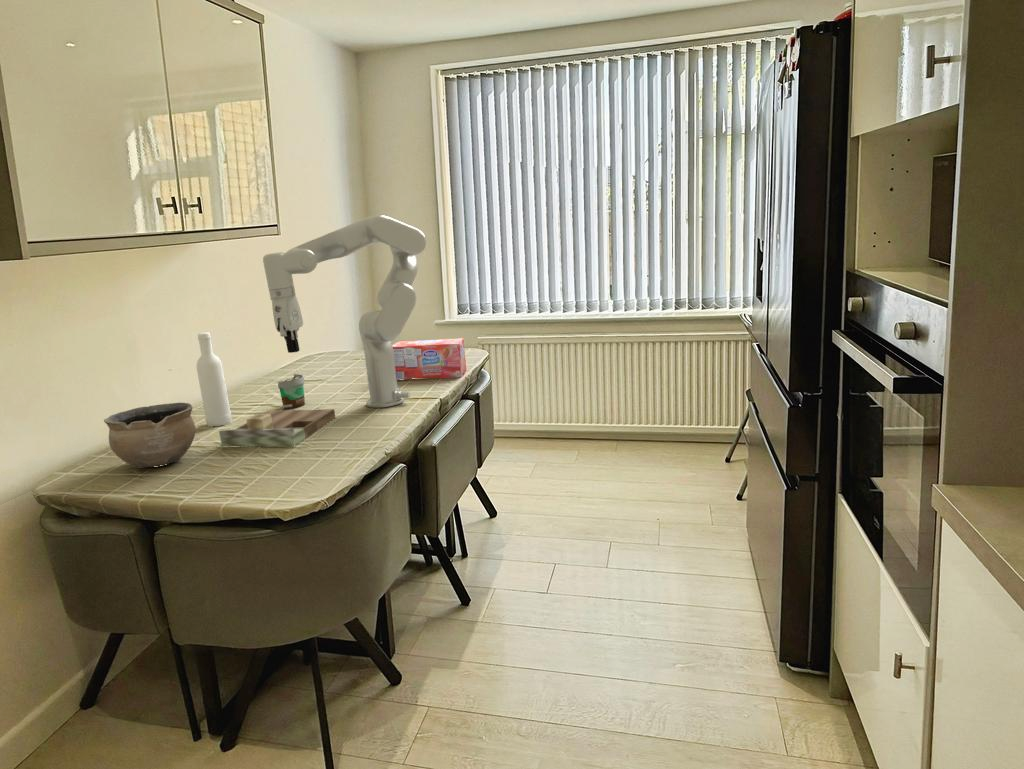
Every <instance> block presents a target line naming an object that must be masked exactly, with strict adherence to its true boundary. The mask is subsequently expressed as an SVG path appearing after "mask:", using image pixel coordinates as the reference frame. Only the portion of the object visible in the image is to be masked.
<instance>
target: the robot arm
mask: <svg viewBox="0 0 1024 769" xmlns="http://www.w3.org/2000/svg"><path fill="white" fill-rule="evenodd" d="M426 238H427V237H426V236H425V234H424V233H423V232H422V231H421V230H420V229H418V228H416V227H414V226H412V225H409V224H406V223H405V222H401V221H400V220H397V219H396V218H395V219H394V218H392V217H390V216H386V215H384V214H383V215H382V214H381V215H380V214H378V215H370V216H367V217H364V218H362V219H360V220H357V221H355V222H352V223H350V224H348V225H346V226H343V227H341V228H338V229H336V230H334V231H330V232H328V233H327V234H324V235H321V236H319V237H316V238H313V239H311V240H309V241H307V242H304V243H302V244H299V245H297V246H294V247H293V248H290V249H288V250H287V251H286V252H283V251H281V252H273V253H272V252H271V253H268V254H265V255H264V256H263V257H262V263H263V267H264V272H265V277H266V283H267V288H268V292H269V297H270V301H271V303H272V308H271V309H272V316H273V321H274V325H275V329H276V331H277V332H278V333H280V337H281V338H282V337H283V339H284V341H285V343H286V350H287V353H288V354H290V353H298V352H300V345H299V344H300V343H299V340H298V338H299V337H298V336H299V334H298V331H299V330H300V328H301V327H303V325H304V320H303V316H302V312H301V307H300V304H299V301H298V298H297V294H296V290H295V284H294V279H293V275H301V274H302V275H304V274H309V273H312V272H313V271H314V270H315V269H316V268H317V265H318V264H320V263H322V262H326V261H329V260H333V259H340V258H344V257H347V256H350V255H352V254H354V253H356V252H358V251H361V250H363V249H365V248H368V247H369V246H371V245H375V244H377V243H383V244H385V245H388V246H389V249H390V251H391V254H392V265H391V268H390V270H389V272H388V274H387V275H386V277H385V279H384V281H383V283H382V285H381V287H380V288H379V290H378V291H377V295H376V301H377V304H378V305H379V306H380V307H381V309H380V310H377V309H372V310H368V311H365V312H364V313H363V314H362V315H361V316H360V317H359V318H360V319H359V322H358V331H359V335H360V337H361V341H362V345H363V351H364V360H365V368H366V375H367V383H368V390H369V399H368V400H366V402H365V404H366V407H370V408H378V409H379V408H387V407H388V408H389V407H393V406H397V405H401V404H402V403H403V402H404V399H410V397H411V394H410V392H409V391H408V390H407V391H402V389H401V387H398V380H397V378H396V370H395V361H394V352H393V346H392V345H393V343H392V341H394V340H396V339H397V338H398V336H400V334H401V333H402V331H403V329H404V327H405V326H406V324H407V322H408V320H409V318H410V316H411V314H412V313H413V310H414V308H415V306H416V303H417V296H416V292H415V289H414V287H413V283H414V282H415V279H416V277H417V274H418V271H419V270H418V269H419V265H418V264H419V263H418V262H419V261H418V256H417V255H420V254H421V253H423V252H424V251H425V248H426V246H427V239H426Z"/></svg>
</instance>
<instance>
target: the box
mask: <svg viewBox="0 0 1024 769" xmlns="http://www.w3.org/2000/svg"><path fill="white" fill-rule="evenodd" d="M464 340H465V338H464V337H462V338H444V339H443V338H439V339H426V340H425V339H424V340H423V339H422V340H406V341H405V340H403V341H401V340H400V341H396V342H395V343H394V344H393V343H392V346H393V352H394V361H395V370H396V378H397V379H412V378H439V379H455V378H462V377H463V375H464V374H465V372H466V371H467V363H466V362H467V360H466V351H465V341H464Z"/></svg>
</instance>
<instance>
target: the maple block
mask: <svg viewBox="0 0 1024 769" xmlns="http://www.w3.org/2000/svg"><path fill="white" fill-rule="evenodd" d="M245 420H246V423H247V426H248V429H273V424H272V418H271V414H264V413H261V414H258V413H257V414H254V415H252V416H250V417H248V418H247V419H245Z"/></svg>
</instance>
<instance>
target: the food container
mask: <svg viewBox="0 0 1024 769" xmlns="http://www.w3.org/2000/svg"><path fill="white" fill-rule="evenodd" d="M305 382H306V379H305V376H304V375H303V374H296V373H295V374H293V377H291V378H287V379H285V380H284V381H277V387H278V389H279V394H280V397H281V402H282V407H283V411H284V410H285V409H286V410H295V409H298V408H302V407H303V406H305V405H306V401H305V388H304V384H305Z"/></svg>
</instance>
